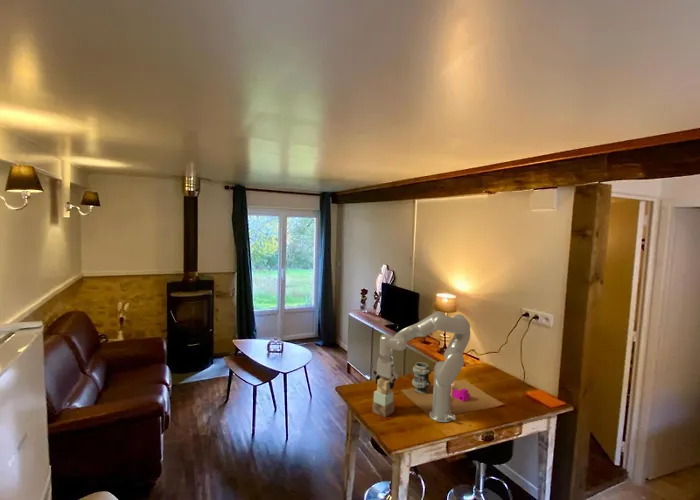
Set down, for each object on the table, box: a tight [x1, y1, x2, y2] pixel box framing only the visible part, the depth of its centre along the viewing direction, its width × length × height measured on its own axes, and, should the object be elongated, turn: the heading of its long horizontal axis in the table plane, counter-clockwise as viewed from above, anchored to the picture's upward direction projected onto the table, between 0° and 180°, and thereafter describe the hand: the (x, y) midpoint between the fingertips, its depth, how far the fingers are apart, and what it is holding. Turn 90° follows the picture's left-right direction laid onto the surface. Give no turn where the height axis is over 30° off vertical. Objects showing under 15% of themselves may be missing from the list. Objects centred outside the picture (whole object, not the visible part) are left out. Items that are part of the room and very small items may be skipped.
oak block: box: [376, 376, 393, 395], centre depth 214 cm, size 6×6×7 cm
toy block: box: [452, 388, 471, 403], centre depth 238 cm, size 15×6×8 cm, turn 38°
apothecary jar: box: [411, 362, 432, 394], centre depth 244 cm, size 12×12×18 cm
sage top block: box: [373, 389, 394, 406], centre depth 215 cm, size 8×8×6 cm
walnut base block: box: [371, 400, 395, 418], centre depth 215 cm, size 9×9×6 cm
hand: (384, 385), depth 214 cm, fingers open, 9 cm apart
